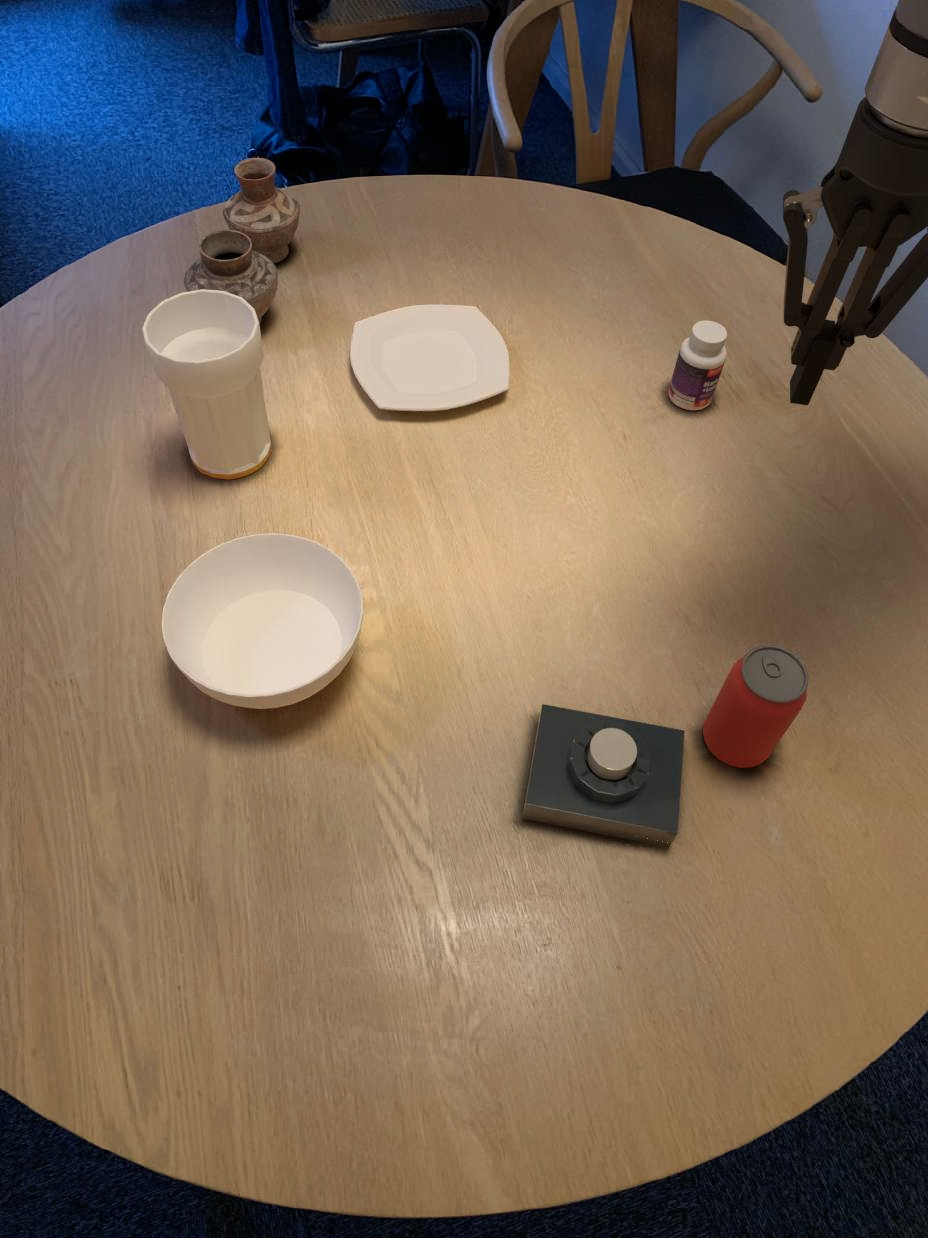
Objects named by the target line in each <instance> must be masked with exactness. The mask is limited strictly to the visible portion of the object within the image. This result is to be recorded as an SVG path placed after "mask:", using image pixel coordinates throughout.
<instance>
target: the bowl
mask: <svg viewBox="0 0 928 1238" xmlns="http://www.w3.org/2000/svg"><path fill="white" fill-rule="evenodd" d="M364 604H365V603H364V596H363V592H362V588H361V585H360V582H359V580H358V578H357V577H356V575H355V573H354V572H353V570H352V569H351V567H350V566H349V564H347V562H346V561H345V560H344V558H342V557H341V556H340V555H338V554H337V553H335V551H333V550H331V549H330V548H329V547H327V546H325V545H324V544H321V543H319V542H317V541H316V540H313V539H310V538H306V537H304V536H303V537H302V536H299V535H295V534H287V533H279V532H273V533H272V532H271V533H256V534H250V535H245V536H240V537H236V538H233V539H231V540H228V541H226V542H223V543H220V544H218V545H216V546H214V547H213V548H211V549H208V550H207V551H205V552H204V553H202V554H201V555H199V556H198V557H197V558H196V559H194V560H193V561H192V562H190V563H189V564H188V565H187V566H186V568H184V570H183V571H182V572H181V573H180V574H179V575H178V576H177V578H176V579H175V581H174V583H172V586H171V587H170V589H169V590H168V593H167V596H166V598H165V601H164V604H163V606H162V614H161V615H162V616H161V631H162V639H163V640H162V641H163V643H164V646H165V648H166V650H167V653H168V655H169V658H170V659H171V660H172V662H173V663H174V664H175V665H176V667H177V669H178V670H179V671H180V672H181V673H182V674H183V675H184V676H185V677H186V678H187V680H188V681H189V682H190V683H192V685H194V687H196V688H197V689H199V691H201V692H202V693H204V694H205V695H207V696H209V697H211V698H213V699H214V700H217V701H219V702H221V703H225V704H227V705H232V706H234V707H240V708H241V707H242V708H246V709H247V708H248V709H257V710H264V709H265V710H266V709H277V708H282V707H286V706H290V705H294V704H298V703H299V702H302V701H304V700H306V699H309V698H310V697H312V696H313V695H315V694H317V693H319V692H320V691H322V690H323V689H324V688H325V687H327V686H328V685H330V683H331V682H333V681H334V679H336V678H337V677H338V676H339V675H340V674H341V673H342V671H343V670H344V669H345V667H347V664H348V663H350V660H351V659H352V656H353V654H354V653H355V650H356V649H357V645H358V642H359V637H360V633H361V630H362V625H363V620H364V615H365V609H364Z"/></svg>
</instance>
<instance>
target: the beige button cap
mask: <svg viewBox="0 0 928 1238" xmlns="http://www.w3.org/2000/svg"><path fill="white" fill-rule="evenodd" d="M636 756H637V747H636V744H635V742H634V740H633V739H632V737H631V736H630V735H629V734H627V733H626V732H624V731H622V730H620V729H616V728H607V729H603V730H601V731H599V732H597V733H596V734H595V735H594V736H593V738H592V740H591V743H590V746H589V749H588V752H587V762H588V765H589V767H590V769H591V770H592V771H593V772H594V773H595V774H596V775H597V776H599V777H601V778H603V779H606V780H618V779H621V778H623V777H625V776H626V775H627V774H628V773H629V772H630V771H631V769H632V766H633V764H634V762H635V759H636Z"/></svg>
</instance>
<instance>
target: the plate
mask: <svg viewBox="0 0 928 1238" xmlns="http://www.w3.org/2000/svg"><path fill="white" fill-rule="evenodd" d="M349 346H350V347H349V359H350V366H351V368H352V371H353V373H354V376H355V378H356V379H357V380H358V383H359V385H360V386H361V388H362V389H363V390H364V392H365V393H366V394H367V395H368V398H369V399H371V401H372V402H373V403H374V404H375V406H376V407H377V408H378V409H379V410H384V411H385V410H386V411H400V412H435V411H446V410H447V411H448V410H453V409H457V408H462V407H465V406H469V405H471V404H472V405H473V404H475V403H478V402H482V401H484V400H487V399H490V398H493V397H495V396H498V395H500V394H502V393H504V392H507V391H509V390H510V378H511V361H510V354H509V350H508V347H507V343H506V341H505V340H504V338H503V336H502V334H501V333H500V332H499V330H498V329H497V328H496V326H495V325H494V323H492V322H491V321H490V320H489V318H487V316H486V315H485V314H484V313H483V312H481V310H480V309H479V308H478V307H477V306H475V305H461V304H417V305H416V304H415V305H409V306H404V307H399V308H396V309H395V308H394V309H392V310H388V311H384V312H381V313H377V314H375V315H371V316H369V317H366V318H363V319H361V320H358V321H355V322H354V325H353V329H352V333H351V339H350V345H349Z"/></svg>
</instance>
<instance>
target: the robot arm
mask: <svg viewBox="0 0 928 1238" xmlns="http://www.w3.org/2000/svg"><path fill="white" fill-rule="evenodd" d="M864 95H865V96H864V97H863V98H862V99H861V100H860V101H859V103H858V104H857V107H856V110H855V112H854V115H853V118H852V121H851V123H850V126H849V129H848V132H847V135H846V136H845V140H844V141H843V142H844V143H843V145H842V147H841V149H840V153H839V156H838V159H837V161H836V162H835V164H834V166H833V167H832V168H831V169H830V170H829V171H828V172H827V173H826V174H825V175H824V176H823V178H822V179H821V182H820V186H818V187H814V188H812V189H809V190H807V191H805V192H802V193H800V191H798V190H797V189H791V190H790V189H789V190H788V191H786V192H785V193H784V194H783V197H782V219H783V222H784V226H785V229H786V232H787V235H788V242H787V243H788V245H787V256H786V265H785V266H786V268H785V279H784V290H783V291H784V293H783V323H784V325H785V326H787V327H790V328H792V327H796V328H798V329H797V332H796V334H795V336H794V340H793V341H792V344H791V347H790V364H791V365H792V366H793V365H794V366H795V368H794V370H793V373H792V375H791V378H790V379H789V403H790V404H795V405H802V406H806V407H807V406H809V404H810V402H811V399H812V398H813V396H814V393H815V391H816V389H817V387H818V384H819V382H820V380H821V378H822V376H823V374H824V371H825V370H828V371H835V370H836V369H837V368H838V367H839V366H840V364H841V362H842V360H843V358H844V356H845V353H846V351H847V349H849V348H851V347H852V346H854V345H855V343H856V339H855V338H857V337H860V336H861V337H862V336H865V337H866V338H868V339H876V338H879V336H881V335H882V333H883V332H884V331H885V330H886V329H887V328H888V326H889V325H890V324H891V322H892V321H894V319H895V318H896V317H897V316H898V314H899V313H900V312H901V310H903V308H904V307H905V306H906V304H907V303H908V302H909V301H910V300H911V299H912V298H913V296H914V295H915V294H916V293H917V291H919V289H920V288H921V286H922V285H923V284H924V283H925V282H926V280H927V279H928V0H898V2H897V4H896V7H895V8H894V10H893V13H892V16H891V19H890V21H889V23H888V26H887V29H886V30H885V34H884V37H883V39H882V42H881V44H880V46H879V50H878V51H877V55H876V58H875V60H874V62H873V65H872V68H871V70H870V73H869V76H868V78H867V81H866V83H865V85H864ZM821 208H824V212H825V215H826V217H827V220H828V222H829V225H830V229H831V230H832V233H833V235H832V238H831V239H832V240H831V242H830V245H829V247H828V249H827V253H826V254H825V257H824V260H823V262H822V264H821V268H820V269H819V272H818V275H817V276H816V280H815V282H814V285H813V287H812V289H811V292H810V295H809V297H808V300H807V302H806V303H805V302H803V296H804V295H803V294H804V283H805V274H806V266H807V264H806V263H807V256H808V255H807V253H808V242H809V240H808V239H809V236H808V229H809V228H811V227H812V226H813V224H815V223H816V221H817V219H818V211H819V210H820V209H821ZM925 229H926V233H925V234H924V235H923V236H922V237H921V238H920V239H919V240H918V242H916V244H915V245H914V246H913V248H912V249H911V250H910V251H909V253H908V254H907V255H906V257H905V258H904V260H903V261H902V262H901V263H900V265H898V266H897V268H896V269H895V271H894V272H893V273H892V275H891V276H890V277H889V279H888V280H886V282H885V284H884V285H883V286H882V287H881V288H880V290H879V291H878V293H877V294H876V295H875V293H876V290H878V289H877V288H878V287H879V285H880V282H881V280H882V278H883V276H884V273H885V271H886V269H887V268H889V267H890V265H891V263H892V261H893V259H894V257H895V254H896V252H897V250H898V248H899V247H900V246H902V245H904V243H906V242H908V241H909V240H911V239H912V238H914V237H915V236H917V235H918V234H919V233H920V232H922V231H924V230H925ZM863 247H865V250H864V253H863V255H862V258H861V260H860V261H859V264H858V267H857V269H856V271H855V274H854V276H853V279H852V280H851V282H850V285H849V288H848V289H847V292H846V295H845V296H844V299H843V302H842V304H841V306H840V308H839V311H838V313H837V317H836V320H832V319H827V317H828V315H829V313H830V310H831V308H832V305H833V303H834V301H835V298H836V296H837V294H838V292H839V289H840V287H841V284H842V283H843V280H844V278H845V275H846V273H847V270H848V269H849V266H850V263H852V262H853V261H854V259H855V257H856V254H857V252H858V249H859V248H863Z"/></svg>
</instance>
